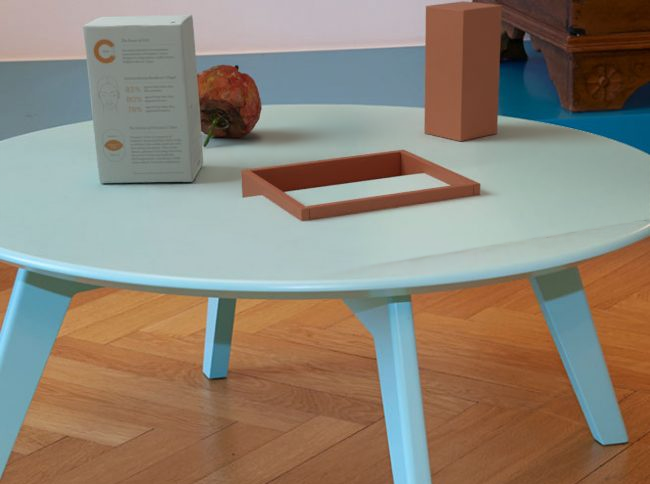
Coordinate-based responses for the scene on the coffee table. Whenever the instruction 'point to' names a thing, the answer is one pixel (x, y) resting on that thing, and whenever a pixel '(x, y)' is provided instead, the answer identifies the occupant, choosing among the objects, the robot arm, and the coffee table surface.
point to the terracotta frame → (349, 171)
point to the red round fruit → (227, 102)
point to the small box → (144, 98)
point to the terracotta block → (462, 69)
